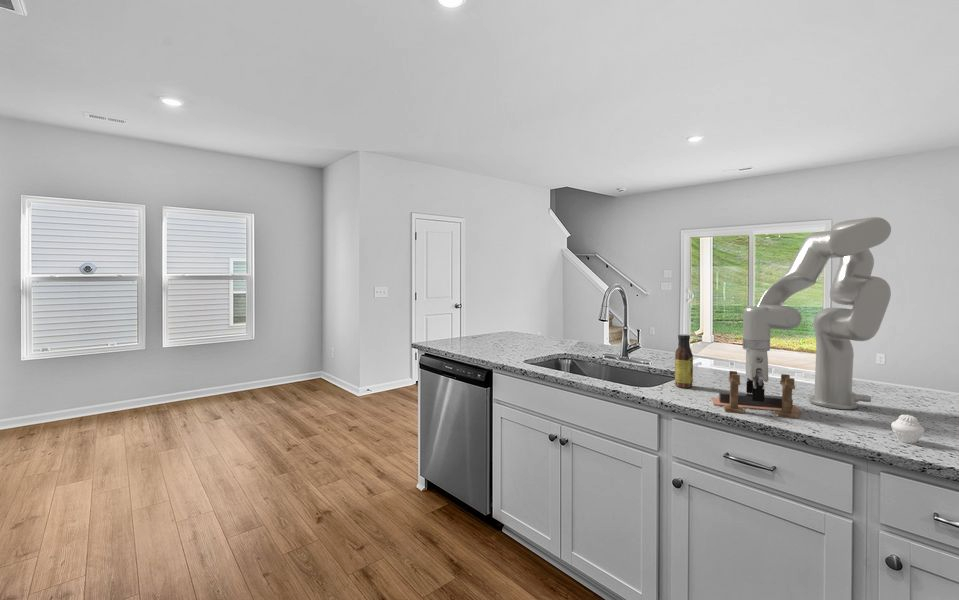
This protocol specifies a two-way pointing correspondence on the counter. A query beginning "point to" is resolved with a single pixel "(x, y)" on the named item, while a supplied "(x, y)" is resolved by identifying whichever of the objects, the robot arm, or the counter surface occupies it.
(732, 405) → the hook stands
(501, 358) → the counter surface
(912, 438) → the muffin
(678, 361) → the sauce bottle
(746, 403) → the rail
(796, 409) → the mat
